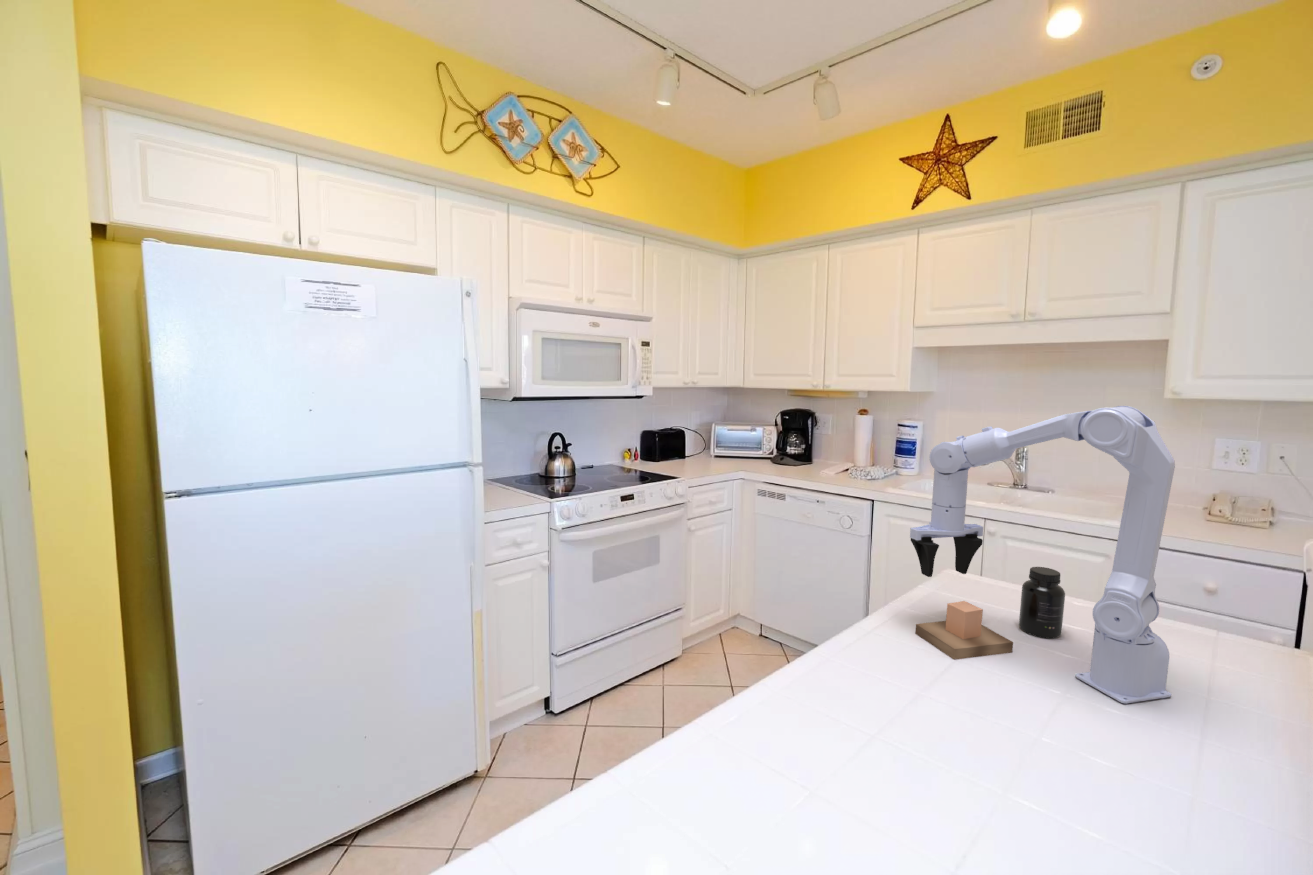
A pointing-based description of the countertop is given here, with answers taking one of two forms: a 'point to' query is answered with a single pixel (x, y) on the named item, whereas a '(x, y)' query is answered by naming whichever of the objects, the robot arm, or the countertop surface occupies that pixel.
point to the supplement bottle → (1042, 603)
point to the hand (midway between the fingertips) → (943, 573)
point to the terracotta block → (964, 619)
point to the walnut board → (963, 641)
